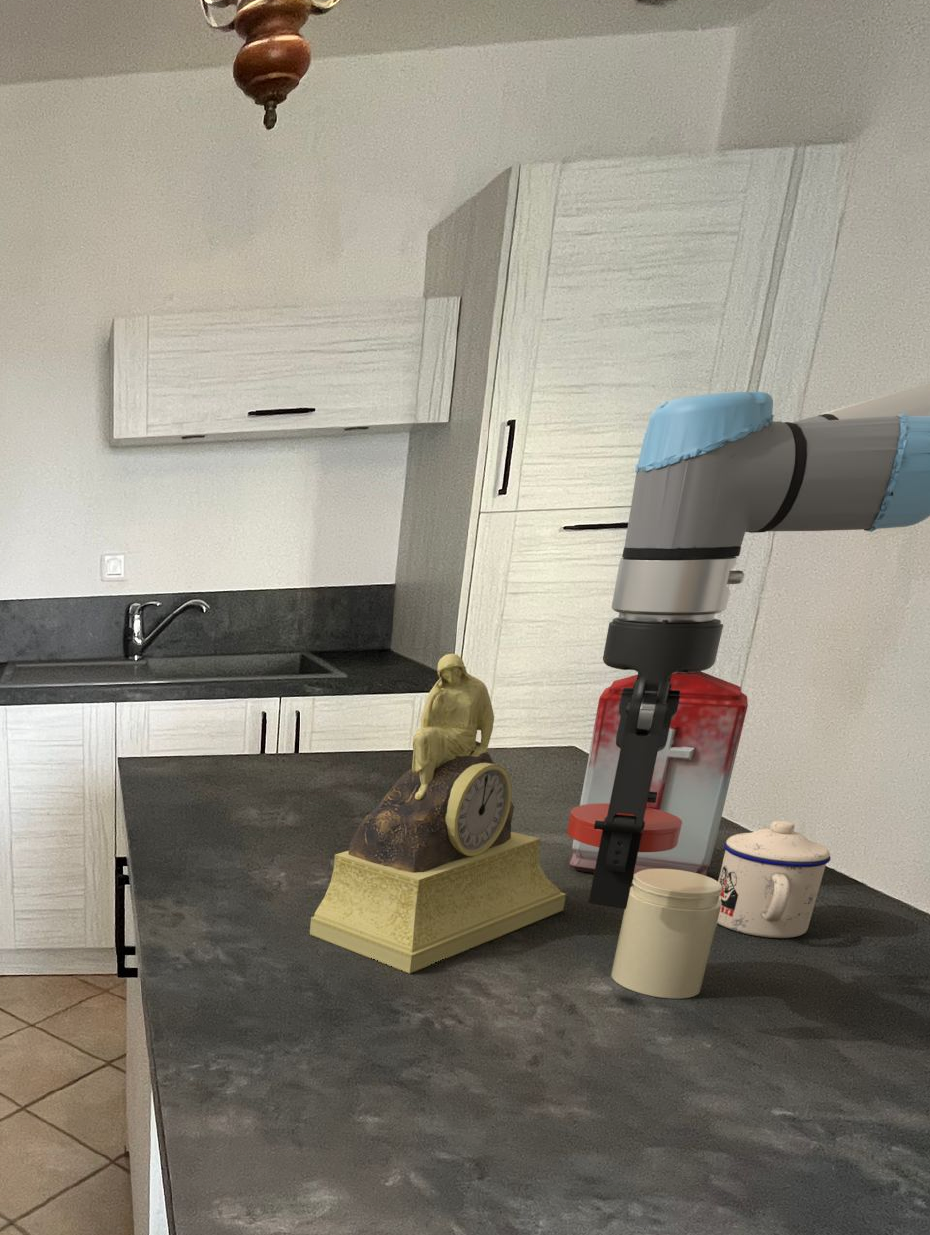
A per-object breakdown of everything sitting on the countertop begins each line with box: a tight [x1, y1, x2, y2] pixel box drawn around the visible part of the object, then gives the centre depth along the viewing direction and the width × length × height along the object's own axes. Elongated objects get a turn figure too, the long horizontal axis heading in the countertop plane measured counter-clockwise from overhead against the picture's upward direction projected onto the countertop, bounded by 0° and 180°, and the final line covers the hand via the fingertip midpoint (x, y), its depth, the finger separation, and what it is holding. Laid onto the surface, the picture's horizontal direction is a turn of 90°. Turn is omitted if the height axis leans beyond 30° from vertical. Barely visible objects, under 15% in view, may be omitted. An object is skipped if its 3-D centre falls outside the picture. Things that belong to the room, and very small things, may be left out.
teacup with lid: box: [717, 820, 831, 939], centre depth 104 cm, size 12×9×12 cm
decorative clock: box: [309, 653, 567, 975], centre depth 106 cm, size 28×13×30 cm, turn 123°
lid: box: [566, 803, 682, 852], centre depth 82 cm, size 8×8×2 cm
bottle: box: [568, 671, 749, 878], centre depth 119 cm, size 14×10×30 cm
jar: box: [610, 869, 722, 1000], centre depth 94 cm, size 7×7×11 cm
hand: (610, 888), depth 84 cm, fingers closed on lid, 8 cm apart
